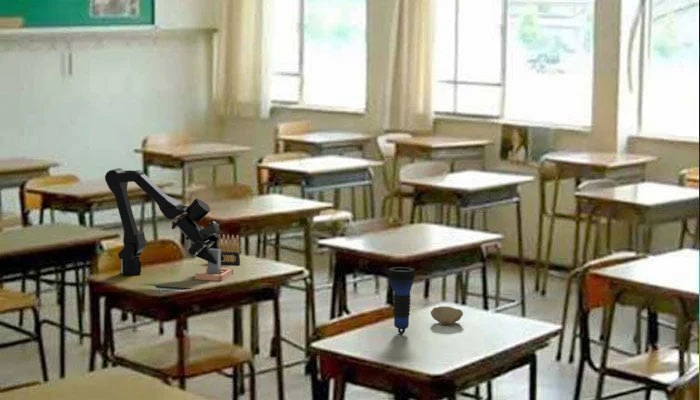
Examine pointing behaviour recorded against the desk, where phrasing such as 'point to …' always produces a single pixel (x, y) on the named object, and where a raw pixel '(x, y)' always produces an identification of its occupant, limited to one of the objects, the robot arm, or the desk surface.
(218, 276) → the slotted box
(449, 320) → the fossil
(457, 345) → the desk surface
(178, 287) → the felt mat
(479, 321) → the desk surface
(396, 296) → the flashlight
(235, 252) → the ammunition clip
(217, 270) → the grey rectangular block
